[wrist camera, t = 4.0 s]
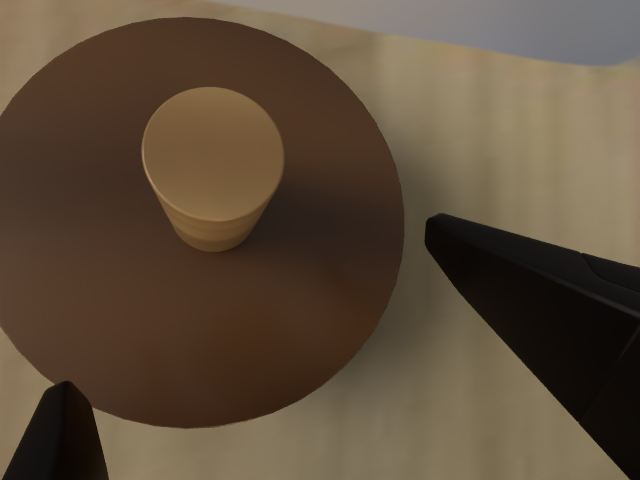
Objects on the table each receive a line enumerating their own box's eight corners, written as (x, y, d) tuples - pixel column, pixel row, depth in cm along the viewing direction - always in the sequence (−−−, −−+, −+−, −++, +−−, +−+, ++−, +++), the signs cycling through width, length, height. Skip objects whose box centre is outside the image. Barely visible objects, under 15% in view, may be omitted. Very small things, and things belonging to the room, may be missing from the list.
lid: (404, 397, 17) (538, 465, 10) (-28, 445, 13) (-292, 607, 6) (382, 55, 19) (482, -87, 12) (0, 11, 15) (-179, -232, 8)
